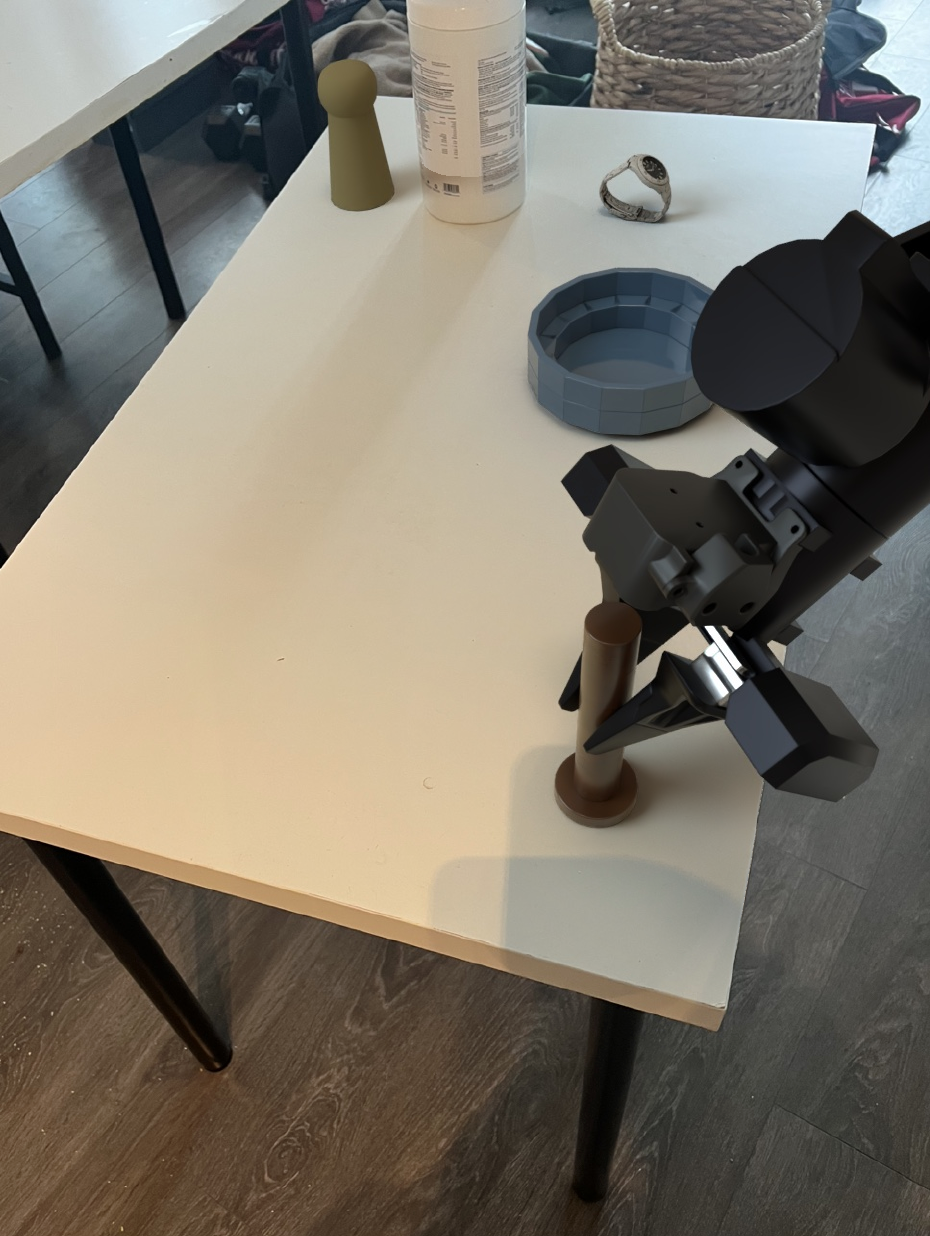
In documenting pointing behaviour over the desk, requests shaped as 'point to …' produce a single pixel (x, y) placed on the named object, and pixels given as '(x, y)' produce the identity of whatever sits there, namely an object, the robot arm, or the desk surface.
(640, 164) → the wristwatch
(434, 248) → the desk surface
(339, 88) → the olive pawn
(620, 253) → the desk surface
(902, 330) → the robot arm
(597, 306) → the bowl
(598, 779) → the brown cylinder with base
